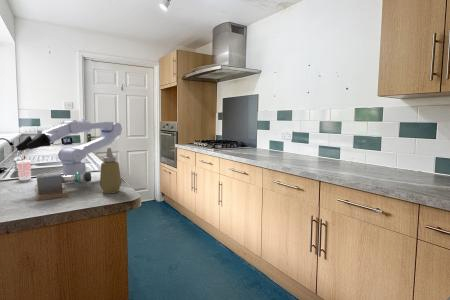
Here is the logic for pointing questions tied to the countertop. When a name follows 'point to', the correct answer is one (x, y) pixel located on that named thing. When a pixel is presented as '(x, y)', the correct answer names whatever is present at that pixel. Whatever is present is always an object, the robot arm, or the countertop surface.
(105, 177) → the squeeze bottle
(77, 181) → the shaft
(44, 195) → the sharpening stone
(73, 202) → the countertop surface
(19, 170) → the beverage cup
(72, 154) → the robot arm
